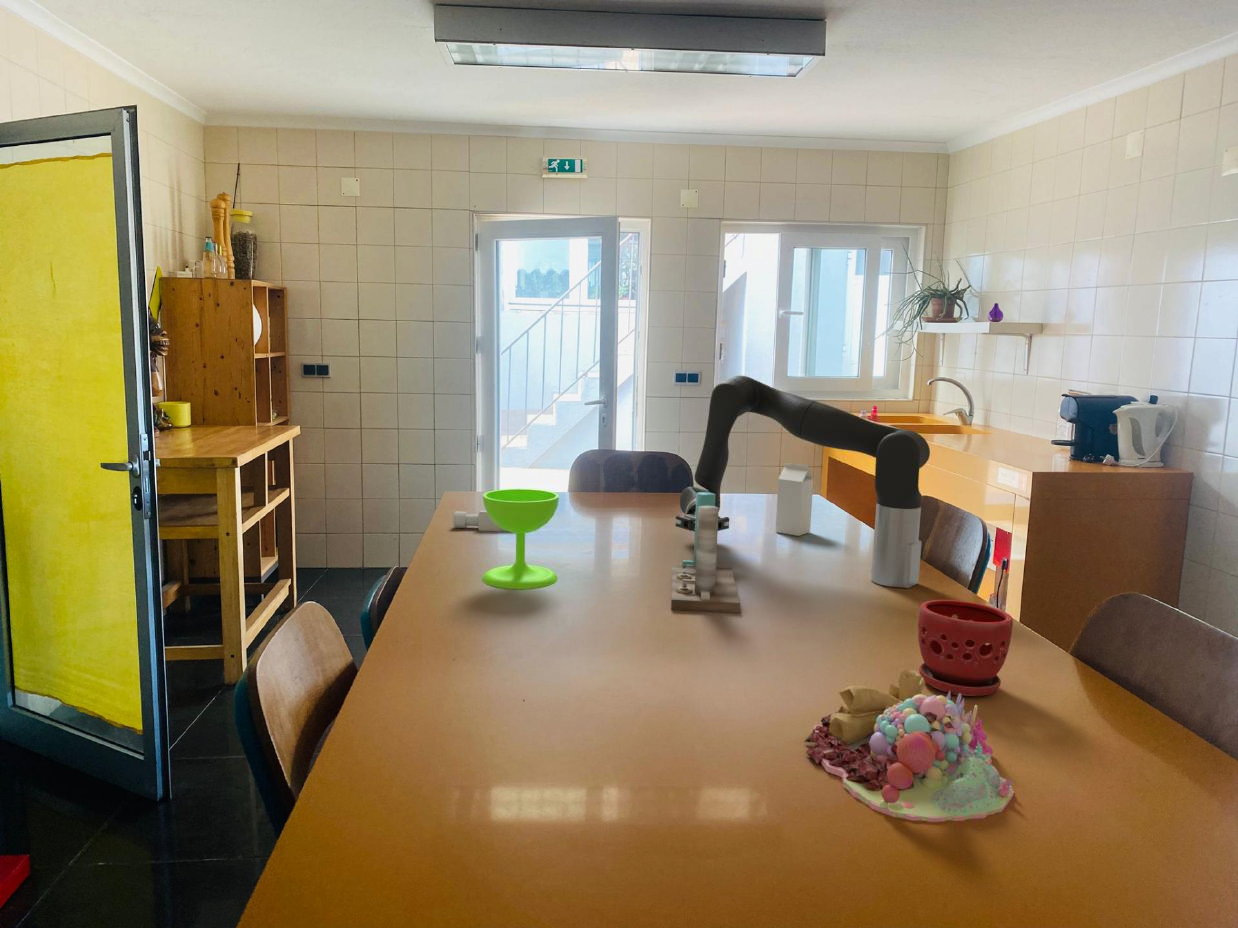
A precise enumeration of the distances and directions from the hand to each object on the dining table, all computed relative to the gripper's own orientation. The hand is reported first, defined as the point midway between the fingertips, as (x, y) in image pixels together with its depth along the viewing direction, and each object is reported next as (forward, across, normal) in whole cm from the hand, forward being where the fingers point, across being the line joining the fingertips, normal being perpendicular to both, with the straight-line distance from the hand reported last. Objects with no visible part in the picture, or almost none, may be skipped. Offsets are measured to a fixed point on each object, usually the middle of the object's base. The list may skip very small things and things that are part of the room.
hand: (703, 529), depth 190 cm
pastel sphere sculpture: (+85, -24, -11) cm, 89 cm away
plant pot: (+58, -38, -10) cm, 70 cm away
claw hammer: (-49, +55, -11) cm, 75 cm away
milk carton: (-48, -26, -10) cm, 56 cm away
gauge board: (+14, 0, -10) cm, 17 cm away
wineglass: (+10, +39, -10) cm, 41 cm away
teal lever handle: (+6, +1, -7) cm, 9 cm away
